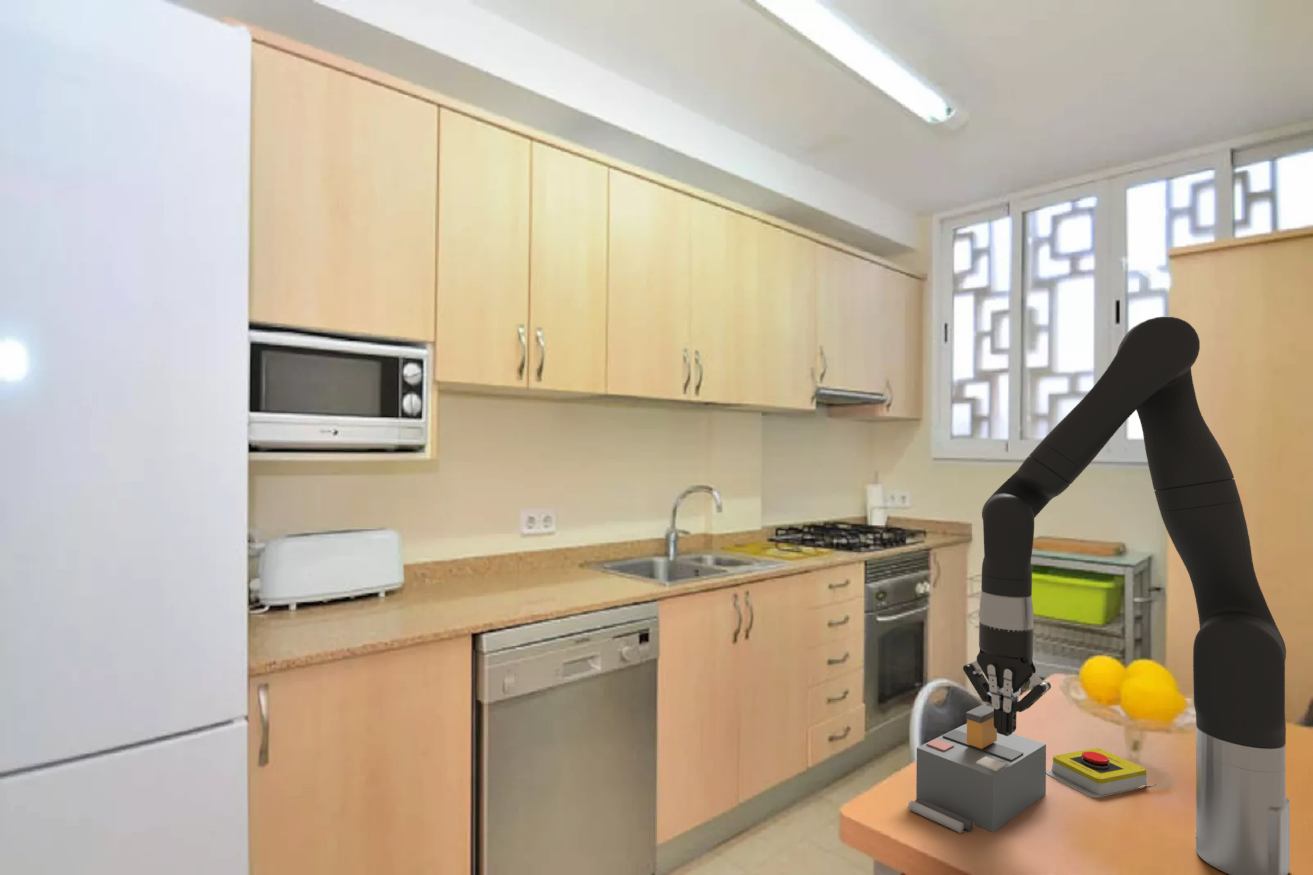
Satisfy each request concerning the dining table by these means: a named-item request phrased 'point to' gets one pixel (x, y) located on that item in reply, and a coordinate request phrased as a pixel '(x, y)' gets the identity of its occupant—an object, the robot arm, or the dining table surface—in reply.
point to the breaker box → (981, 776)
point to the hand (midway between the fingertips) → (1004, 733)
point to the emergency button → (1097, 772)
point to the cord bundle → (941, 815)
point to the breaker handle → (981, 726)
